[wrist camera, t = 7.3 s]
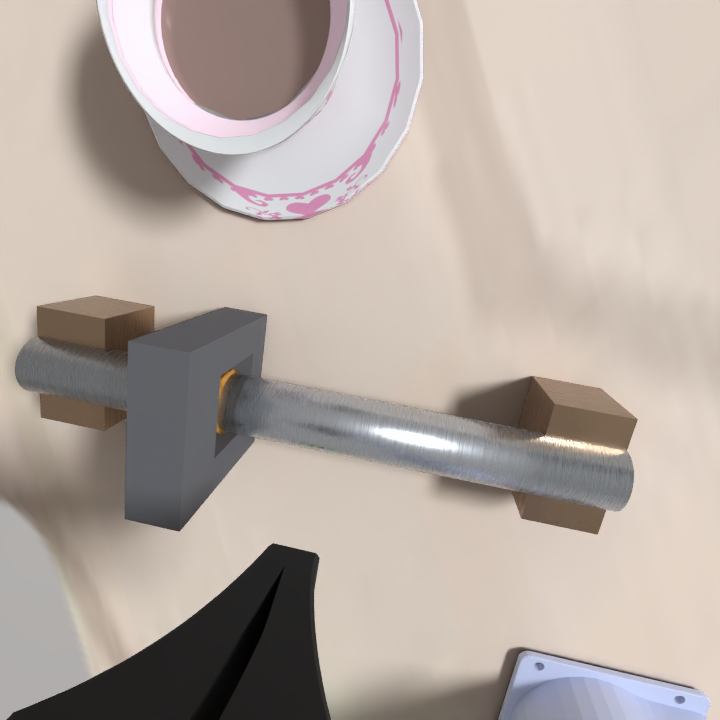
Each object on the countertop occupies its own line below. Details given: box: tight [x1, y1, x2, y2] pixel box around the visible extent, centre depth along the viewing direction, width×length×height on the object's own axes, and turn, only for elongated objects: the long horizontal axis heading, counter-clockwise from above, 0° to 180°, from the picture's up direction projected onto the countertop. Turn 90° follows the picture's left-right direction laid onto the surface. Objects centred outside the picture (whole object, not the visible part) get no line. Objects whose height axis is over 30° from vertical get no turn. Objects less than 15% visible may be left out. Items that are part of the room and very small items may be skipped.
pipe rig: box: [15, 296, 638, 534], centre depth 20 cm, size 24×5×5 cm, turn 81°
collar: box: [125, 307, 267, 531], centre depth 18 cm, size 2×6×7 cm, turn 171°
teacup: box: [96, 0, 423, 220], centre depth 16 cm, size 12×12×6 cm
